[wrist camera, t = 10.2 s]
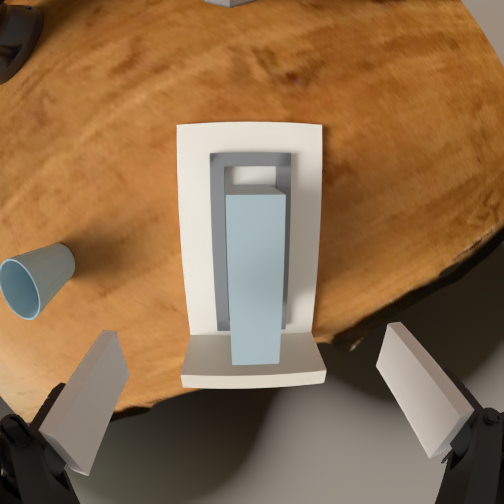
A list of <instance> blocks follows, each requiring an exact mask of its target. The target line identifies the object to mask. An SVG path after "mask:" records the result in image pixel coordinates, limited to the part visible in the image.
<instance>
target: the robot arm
mask: <svg viewBox="0 0 504 504" xmlns="http://www.w3.org/2000/svg"><path fill="white" fill-rule="evenodd" d="M4 1H5V0H0V84H2V83H4V82H6V81H7V80H8V79H10V78H11V77H12V76H13V75H14V74H15V73H16V72H17V71H18V70H19V68H20V67H21V66H22V65H23V63H24V62H25V61H26V59H27V58H28V56H29V55H30V53H31V51H32V50H33V48H34V46H35V44H36V42H37V40H38V38H39V35H40V33H41V30H42V26H43V14H42V12H41V11H40V10H38V9H37V8H35V7H33V6H25V5H7V4H5V3H3V2H4ZM376 366H377V368H378V370H379V371H380V373H381V375H382V376H383V378H384V379H385V381H386V383H387V385H388V386H389V388H390V390H391V391H392V393H393V395H394V396H395V398H396V400H397V401H398V403H399V405H400V407H401V408H402V410H403V412H404V414H405V415H406V417H407V419H408V421H409V422H410V424H411V426H412V428H413V430H414V431H415V433H416V435H417V437H418V438H419V440H420V442H421V444H422V446H423V448H424V449H425V451H426V453H427V455H428V457H429V458H432V457H434V456H436V455H438V454H440V453H442V452H444V451H445V449H446V448H447V447H448V446H449V444H450V445H451V447H452V449H451V451H450V452H449V453H448V454H447V455H446V456H445V458H444V459H443V460H442V462H441V463H444V462H445V461H446V460H447V459H448V461H447V463H446V464H447V465H446V469H445V473H444V476H443V480H442V483H441V486H440V490H439V493H438V496H437V499H436V502H435V504H504V412H502V413H499V412H498V411H497V410H495V409H493V408H484V409H483V408H482V406H481V405H480V404H479V403H478V401H477V400H476V399H475V398H474V396H473V395H472V394H471V393H470V391H469V390H468V389H467V388H465V385H464V384H463V383H462V382H460V380H459V378H458V377H457V376H456V375H455V374H454V373H453V372H451V371H450V370H448V369H447V368H444V369H441V368H440V367H439V365H438V364H437V363H436V362H435V361H434V359H433V358H432V357H431V356H430V355H429V354H428V352H427V351H426V350H425V349H424V348H423V347H422V346H421V344H420V343H419V342H418V341H417V340H416V339H415V338H414V336H413V335H412V334H411V333H410V332H409V331H408V330H407V329H406V328H405V326H404V325H403V324H402V323H401V322H397V323H389V324H388V326H387V330H386V334H385V337H384V341H383V345H382V348H381V352H380V355H379V358H378V362H377V365H376ZM128 377H129V371H128V368H127V365H126V362H125V359H124V356H123V352H122V349H121V346H120V342H119V339H118V335H117V332H116V331H106V330H103V331H102V333H101V334H100V335H99V337H98V338H97V340H96V341H95V342H94V344H93V345H92V347H91V348H90V349H89V351H88V352H87V354H86V355H85V357H84V358H83V360H82V361H81V363H80V364H79V366H78V367H77V369H76V370H75V372H74V373H73V375H72V376H71V378H70V379H69V381H68V382H67V384H65V383H60V384H58V385H57V386H56V387H55V388H53V389H52V391H51V392H50V394H49V395H48V398H47V399H46V400H45V402H44V403H43V405H42V406H41V408H40V409H39V411H38V413H37V414H36V416H35V417H34V419H33V421H32V422H31V424H30V426H29V427H28V425H27V424H26V423H25V421H24V420H23V419H22V418H21V417H20V416H19V415H16V414H9V415H7V416H5V417H4V418H2V419H1V421H0V433H1V434H0V504H80V502H79V500H78V498H77V496H76V494H75V492H74V489H73V487H72V484H71V482H70V480H69V477H68V475H67V473H66V471H65V469H64V467H65V464H67V465H68V466H69V467H70V468H71V469H72V470H73V471H76V472H79V473H82V474H84V475H89V472H90V470H91V467H92V464H93V461H94V459H95V456H96V453H97V451H98V448H99V445H100V443H101V440H102V438H103V435H104V433H105V430H106V428H107V425H108V423H109V421H110V418H111V416H112V413H113V411H114V409H115V406H116V404H117V402H118V399H119V397H120V395H121V392H122V390H123V388H124V386H125V383H126V381H127V379H128ZM1 469H2V470H3V474H2V475H1Z"/></svg>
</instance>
